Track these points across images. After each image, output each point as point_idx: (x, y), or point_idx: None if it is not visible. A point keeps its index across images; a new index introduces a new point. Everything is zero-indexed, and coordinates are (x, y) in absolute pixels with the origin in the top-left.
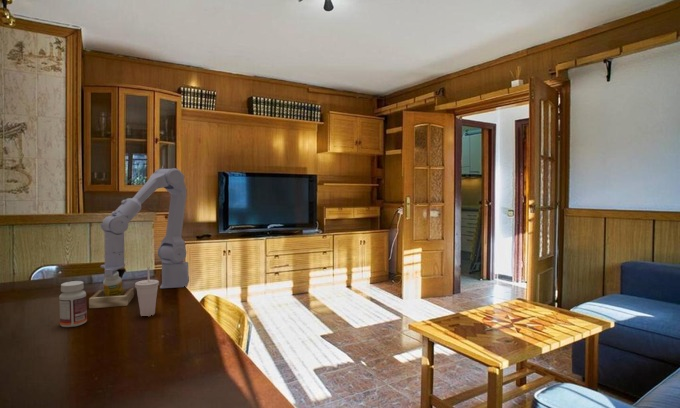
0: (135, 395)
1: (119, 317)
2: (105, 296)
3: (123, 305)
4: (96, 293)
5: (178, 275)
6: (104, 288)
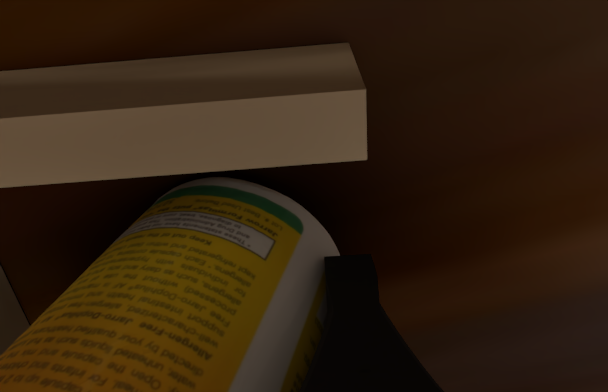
0: None
1: None
2: (118, 238)
3: None
4: (80, 138)
5: None
6: (12, 344)
